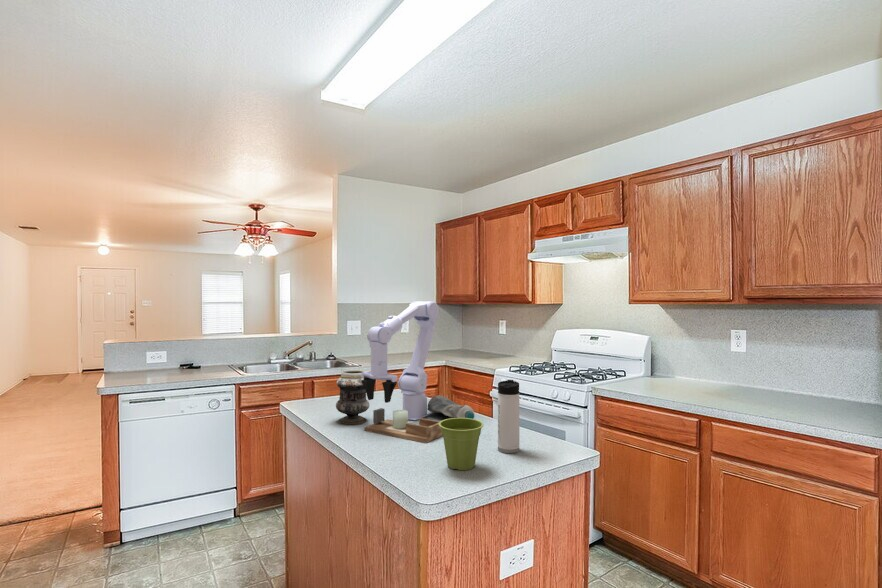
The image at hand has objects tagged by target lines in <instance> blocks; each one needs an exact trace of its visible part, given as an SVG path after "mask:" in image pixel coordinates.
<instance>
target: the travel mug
mask: <svg viewBox="0 0 882 588" xmlns="http://www.w3.org/2000/svg"><path fill="white" fill-rule="evenodd" d="M497 389H498V390H497V450H498V452H499V453H500V452H501V453H503V454H517V453H518V452H519V451H520V383H519V382H518V381H516V380H514V379H507V380H502V381H499V382H498V383H497Z"/></svg>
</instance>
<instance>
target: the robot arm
mask: <svg viewBox="0 0 882 588" xmlns="http://www.w3.org/2000/svg"><path fill="white" fill-rule="evenodd" d="M439 313H440V309H439V306H438V304H437V302H436V301H433V300H431V301H418V300H415V301H412V302H411V303H409V305H408V307H407V308H405V309H404V310H403V311H401V312H400V313H399V314H398V315H389V316H387V319H386V320H384V321H382V322H380V323H379V324H378V325H377V326H372V327H371V328H369V330H368V332H367V334H366V338H367V341H368V342H369V347H370V371H365V372H363V373H362V378H364V380H361V382H362V384H363V386H364V388H365V390H366V398H367V400H368V401H371V400H374V397H375V384H376V381H377V380H378V381H383V382H382V383H381V384H382V388H383V394H384V395H383V397H384V403H387V404H388V403H390V402H391V400H392V395H393V392H394V390H395V388H396V385H397V384H398V385H397V386H398V388H399V390H400V391H401V394H402V410H406V411H408V421H409V420H410V421H417V420H419V419H420V418H423V419H424V418H425V417H428V416H430V413H428V410H427V409H428V397H427V394H426V393H425V391H426V390H427V386H428V374H427V372H426V371H425V370H424V369H425V366H426V363H427V358H428V354H429V351H430V347H431V343H432V340H433V337H434V333H435V330H436V329H435V328H436V323H437V320H438V318H439V317H438V316H439ZM411 319H414V320H415V322H416V323H417V324H418V326H419V327H420V329H419V333H418V336H417V338H416V343H415V346H414V349H413V353H412V356H411V359H410V363H409V365H408V366H407V367H406V368H404V369H403V370H402V374H401V375H400V377H399V378H398V375H395V374H390V373H388V343H390V341H391V339H392V337H393V336H394V335H395V334H396V333H398V332H399V331H400V330H401V329H402V328H403V324H405V323H407V322H409V321H410V320H411Z"/></svg>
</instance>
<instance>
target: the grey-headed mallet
mask: <svg viewBox="0 0 882 588" xmlns="http://www.w3.org/2000/svg"><path fill="white" fill-rule="evenodd" d="M385 411H386V409H385V408H382V407H380V408H377V409H373V411H372V412H373V415H372V418H373V421H372V422H373V423H372V424H379V423H385V424H391V425H393V428H396V429H404V428H406V424H407V423H409V419H408V411H406V410H403V409H396V410H393V411H392V420H393V423H392V422H386V421H385V420H386V419H385Z"/></svg>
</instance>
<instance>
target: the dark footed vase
mask: <svg viewBox="0 0 882 588" xmlns="http://www.w3.org/2000/svg"><path fill="white" fill-rule="evenodd" d="M363 372H366V371H365V370H363V369H362V370H361V369H345V370H342V371H341V372H340V373H341V374H340V377H339V378H338V379H337V380H336V386H337V387H338V388H339V400H337V402H336V403H335V408H336V410H337V412H339V413H341V414H343V415H344V416H343V417H341V418H340V419H339V420H338V422H339V423H340V424H343V425H359V424H364V423H365V422H366V421H367V418H366V417H364V416H363V415H360V414H362V413H365V412H366V411H367V410H368V409H369V408H370V401H369V400H368V399H367V393H366V390H365V388H364V386H363V384H362V382H361V380H364V378H362V373H363Z"/></svg>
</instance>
